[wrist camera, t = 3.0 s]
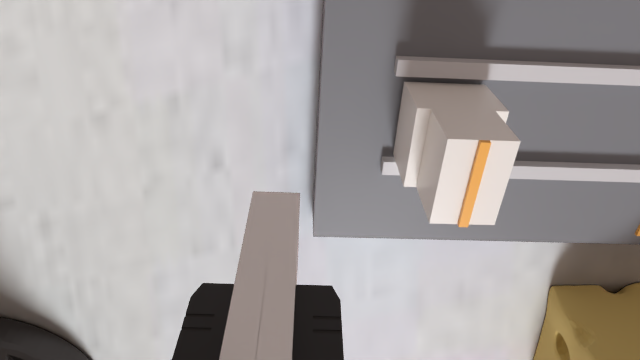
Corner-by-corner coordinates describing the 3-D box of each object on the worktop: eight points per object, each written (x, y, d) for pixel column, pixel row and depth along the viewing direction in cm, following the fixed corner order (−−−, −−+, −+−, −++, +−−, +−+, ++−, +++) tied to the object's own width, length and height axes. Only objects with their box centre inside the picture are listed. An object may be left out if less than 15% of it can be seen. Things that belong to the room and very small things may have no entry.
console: (312, 216, 30) (313, 255, 26) (327, -67, 21) (330, -59, 18) (734, 227, 31) (782, 265, 28) (908, -36, 22) (1006, -24, 19)
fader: (393, 153, 25) (416, 226, 19) (404, 81, 22) (433, 141, 17) (467, 156, 25) (510, 228, 20) (485, 84, 23) (538, 144, 17)
